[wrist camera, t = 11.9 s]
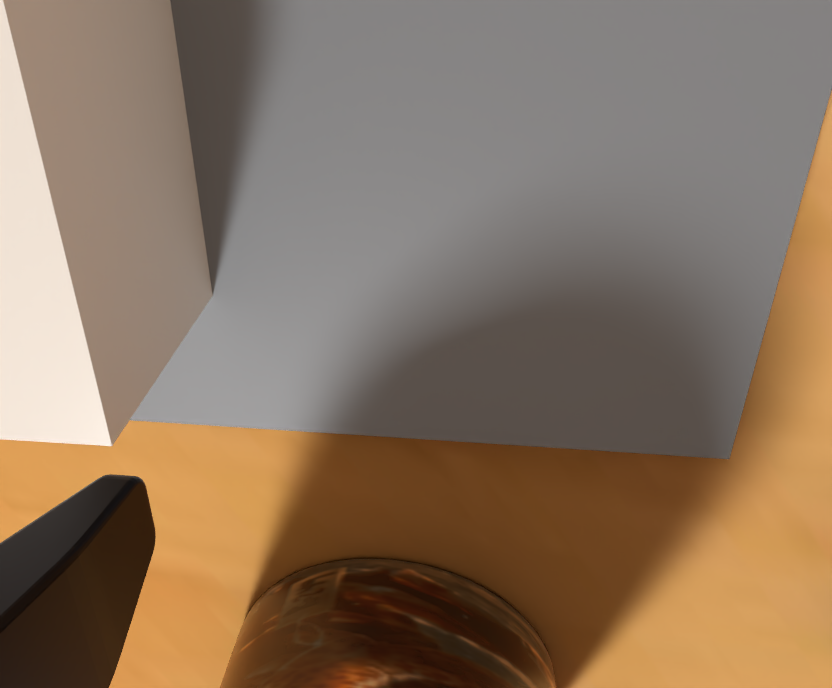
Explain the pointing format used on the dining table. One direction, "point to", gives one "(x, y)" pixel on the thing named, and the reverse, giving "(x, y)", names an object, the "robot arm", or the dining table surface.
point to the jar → (385, 632)
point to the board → (492, 214)
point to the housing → (92, 215)
